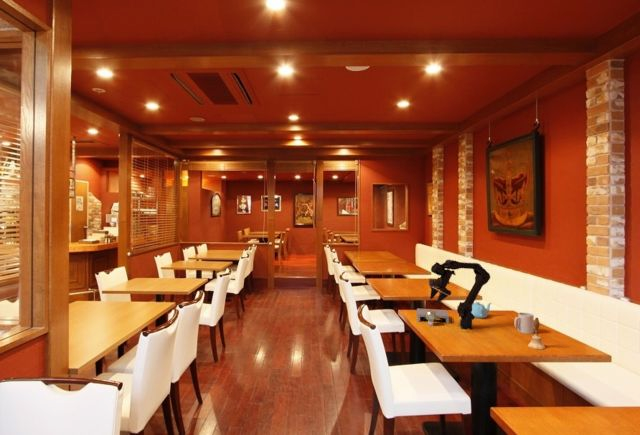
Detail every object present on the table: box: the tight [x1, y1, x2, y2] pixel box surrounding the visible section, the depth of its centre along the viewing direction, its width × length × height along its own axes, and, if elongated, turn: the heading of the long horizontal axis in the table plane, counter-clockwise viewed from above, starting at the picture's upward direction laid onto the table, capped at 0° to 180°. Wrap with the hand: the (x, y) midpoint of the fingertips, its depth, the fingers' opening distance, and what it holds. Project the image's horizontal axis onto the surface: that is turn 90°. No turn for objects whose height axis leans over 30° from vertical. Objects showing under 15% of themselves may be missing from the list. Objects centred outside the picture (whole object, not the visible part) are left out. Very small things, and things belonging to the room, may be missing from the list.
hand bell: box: [527, 317, 546, 350], centre depth 208 cm, size 8×8×16 cm
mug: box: [514, 312, 535, 335], centre depth 234 cm, size 12×8×11 cm
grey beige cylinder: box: [425, 310, 437, 327], centre depth 247 cm, size 6×6×9 cm
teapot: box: [471, 301, 492, 319], centre depth 270 cm, size 15×15×10 cm
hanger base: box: [416, 308, 450, 324], centre depth 261 cm, size 20×16×5 cm
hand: (434, 300), depth 237 cm, fingers open, 9 cm apart
